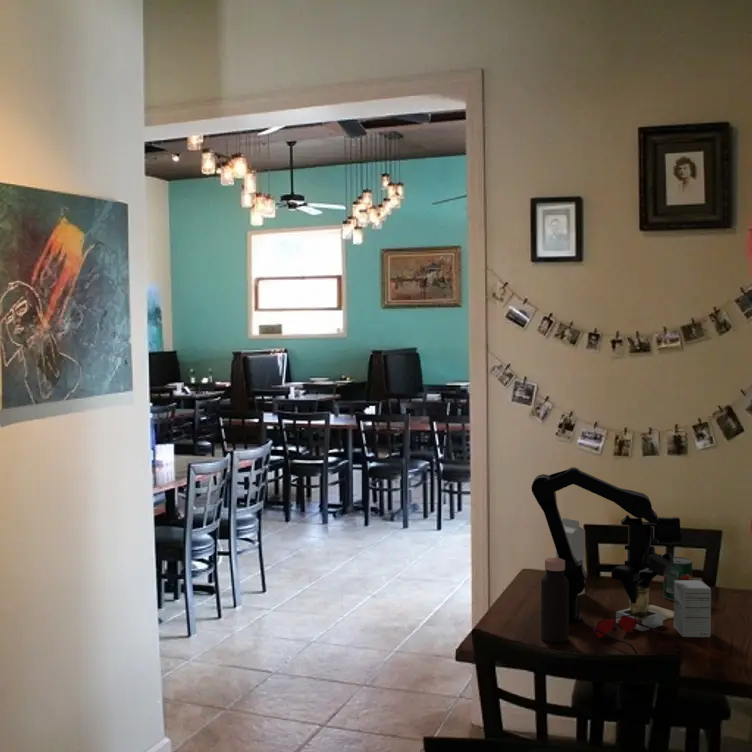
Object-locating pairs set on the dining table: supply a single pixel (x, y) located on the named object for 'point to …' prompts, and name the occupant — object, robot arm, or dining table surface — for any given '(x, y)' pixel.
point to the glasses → (626, 624)
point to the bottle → (554, 602)
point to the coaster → (662, 612)
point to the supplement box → (692, 608)
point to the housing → (643, 619)
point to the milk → (575, 540)
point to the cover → (640, 603)
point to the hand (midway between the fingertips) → (638, 600)
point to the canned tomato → (677, 575)
